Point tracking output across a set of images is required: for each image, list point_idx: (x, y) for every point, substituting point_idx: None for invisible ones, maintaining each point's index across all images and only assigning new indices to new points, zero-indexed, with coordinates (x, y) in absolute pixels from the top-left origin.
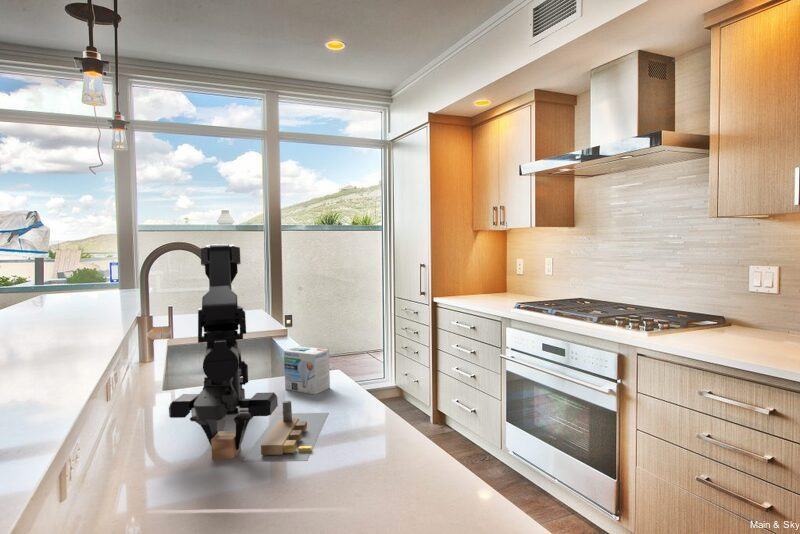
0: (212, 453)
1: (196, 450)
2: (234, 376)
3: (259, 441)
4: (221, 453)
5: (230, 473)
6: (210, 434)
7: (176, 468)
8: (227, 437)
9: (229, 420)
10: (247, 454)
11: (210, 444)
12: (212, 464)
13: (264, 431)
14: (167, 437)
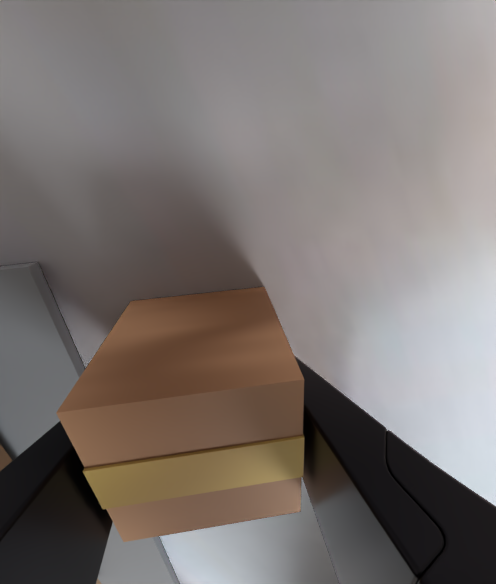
0: (267, 306)
1: (393, 379)
2: None
3: None
4: (203, 314)
5: (2, 88)
6: (341, 441)
7: (448, 163)
8: (148, 436)
9: None
10: (66, 360)
11: (312, 371)
12: (237, 237)
13: (155, 547)
14: None
